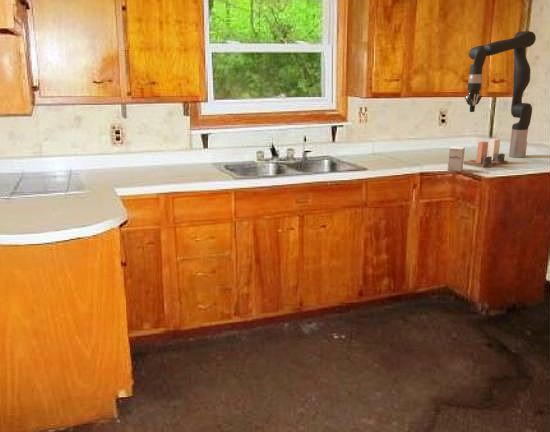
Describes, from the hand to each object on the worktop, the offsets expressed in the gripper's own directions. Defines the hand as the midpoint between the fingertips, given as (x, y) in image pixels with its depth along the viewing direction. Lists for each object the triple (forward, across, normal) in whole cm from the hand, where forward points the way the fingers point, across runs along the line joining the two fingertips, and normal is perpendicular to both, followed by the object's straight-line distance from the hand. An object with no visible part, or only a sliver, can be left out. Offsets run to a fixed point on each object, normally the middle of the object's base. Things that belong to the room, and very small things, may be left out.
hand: (472, 111), depth 320 cm
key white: (+27, +5, -14) cm, 31 cm away
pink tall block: (+27, -9, -17) cm, 33 cm away
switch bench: (+29, -2, -15) cm, 33 cm away
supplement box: (+29, -31, -17) cm, 46 cm away
